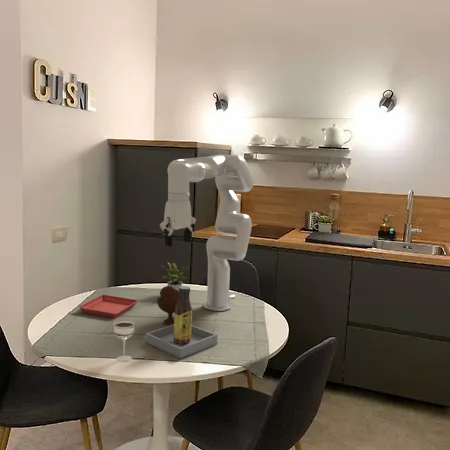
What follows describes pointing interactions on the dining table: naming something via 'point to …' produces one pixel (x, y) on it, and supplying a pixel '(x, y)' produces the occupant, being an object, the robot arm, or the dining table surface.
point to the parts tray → (166, 343)
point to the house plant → (174, 277)
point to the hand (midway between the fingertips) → (178, 243)
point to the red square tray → (108, 306)
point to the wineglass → (124, 335)
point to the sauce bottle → (183, 317)
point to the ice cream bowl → (168, 302)
